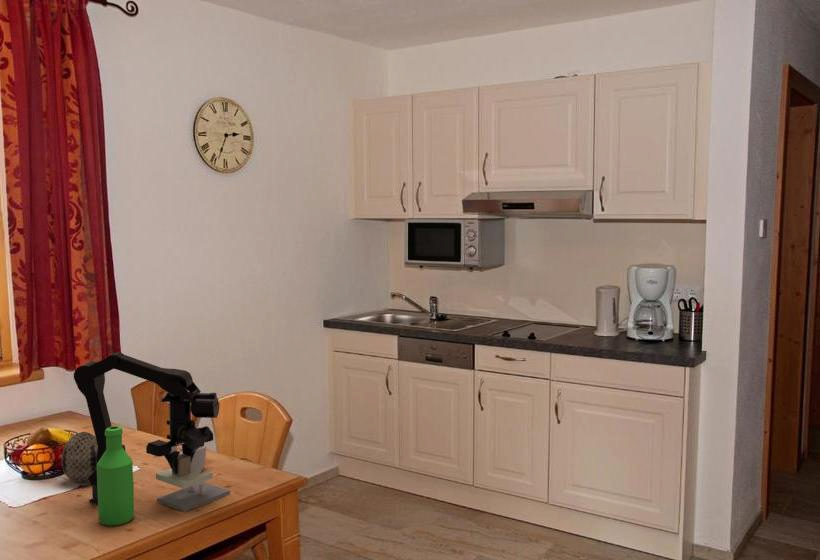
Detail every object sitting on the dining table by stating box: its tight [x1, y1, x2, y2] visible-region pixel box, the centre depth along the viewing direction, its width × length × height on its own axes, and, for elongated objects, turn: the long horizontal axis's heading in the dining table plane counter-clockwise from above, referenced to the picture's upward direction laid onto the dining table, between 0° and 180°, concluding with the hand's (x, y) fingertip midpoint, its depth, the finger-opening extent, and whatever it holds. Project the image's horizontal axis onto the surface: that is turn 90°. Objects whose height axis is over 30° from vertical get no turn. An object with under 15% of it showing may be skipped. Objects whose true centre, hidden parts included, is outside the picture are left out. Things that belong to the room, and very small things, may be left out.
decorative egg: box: [61, 431, 98, 484], centre depth 227 cm, size 12×12×15 cm
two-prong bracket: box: [155, 454, 214, 489], centre depth 212 cm, size 10×12×7 cm
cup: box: [179, 443, 207, 472], centre depth 236 cm, size 11×8×8 cm
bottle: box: [97, 425, 135, 527], centre depth 199 cm, size 9×9×25 cm
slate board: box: [156, 481, 231, 513], centre depth 216 cm, size 16×12×4 cm
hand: (181, 471), depth 212 cm, fingers closed on two-prong bracket, 4 cm apart
